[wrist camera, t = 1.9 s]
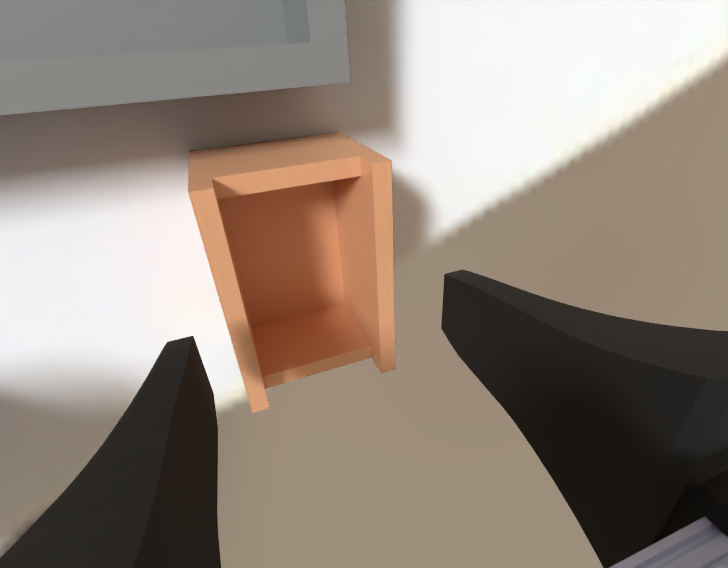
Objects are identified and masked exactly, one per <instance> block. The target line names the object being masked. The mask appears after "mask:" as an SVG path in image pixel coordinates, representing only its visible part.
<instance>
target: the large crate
mask: <svg viewBox="0 0 728 568" xmlns="http://www.w3.org/2000/svg"><path fill="white" fill-rule="evenodd" d="M342 83H350V67H349V52H348V36H347V21H346V5H345V0H0V115H11V114H21V113H32V112H43V111H53V110H64V109H75V108H85V107H96V106H107V105H117V104H128V103H139V102H149V101H160V100H171V99H181V98H192V97H203V96H213V95H224V94H235V93H245V92H256V91H267V90H278V89H288V88H299V87H310V86H320V85H331V84H342Z"/></svg>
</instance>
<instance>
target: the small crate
mask: <svg viewBox="0 0 728 568" xmlns="http://www.w3.org/2000/svg"><path fill="white" fill-rule="evenodd" d="M188 193H189V196H190V200H191V203H192V207H193V210H194V213H195V217H196V220H197V224H198V227H199V231H200V234H201V237H202V241H203V244H204V248H205V251H206V255H207V258H208V262H209V265H210V268H211V272H212V275H213V279H214V282H215V286H216V289H217V292H218V296H219V299H220V303H221V306H222V310H223V313H224V317H225V320H226V323H227V327H228V330H229V334H230V337H231V341H232V344H233V347H234V351H235V354H236V358H237V361H238V365H239V368H240V371H241V375H242V378H243V382H244V385H245V389H246V392H247V396H248V399H249V402H250V406H251V409H252V412H253V413H254V412H257V411H261V410H264V409H267V408H270V407H269V403H268V398H267V393H266V388H269V387H273V386H276V385H279V384H283V383H286V382H289V381H292V380H296V379H300V378H302V377H306V376H310V375H313V374H316V373H320V372H323V371H327V370H330V369H333V368H337V367H340V366H343V365H347V364H350V363H354V362H357V361H360V360H363V359H367V358H370V357H372V358H373V360H374V362H375V364H376V365H377V367H378V368H379V370H380V372H381V373H383V372H386V371H390V370H393V369H395V318H394V264H393V210H392V161H391V160H390V159H388V158H386V157H384V156H382V155H380V154H379V153H377V152H375V151H373V150H371V149H369V148H367V147H366V146H364V145H362V144H360V143H358V142H356V141H355V140H353V139H351V138H349V137H347V136H345V135H344V134H342V133H340V132H336V133H328V134H320V135H312V136H305V137H297V138H289V139H281V140H274V141H266V142H258V143H250V144H242V145H235V146H227V147H219V148H211V149H203V150H196V151H189V183H188Z"/></svg>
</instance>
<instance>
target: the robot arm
mask: <svg viewBox="0 0 728 568" xmlns="http://www.w3.org/2000/svg"><path fill="white" fill-rule="evenodd" d="M443 293H444V294H443V310H442V327H441V328H442V330H443V332H444V333H445V335H446V337H447V338H448V340H449V341H450V343H451V345H452V346H453V348H454V349H455V351H456V352H457V354H458V355H459V356H460V358H461V359H462V360H463V361H464V362H465V364H466V365H467V366H468V367H469V368H470V369H471V371H472V372H473V373H474V374H475V375H476V377H477V378H478V379H479V380H480V381H481V382H482V384H483V385H484V386H485V387H486V388H487V389H488V391H489V392H490V393H491V394H492V395H493V396H494V397H495V399H496V400H497V401H498V402H499V403H500V404H501V405H502V407H503V408H504V409H505V410H506V412H507V413H508V414H509V416H510V417H511V418H512V419H513V420H514V422H515V423H516V425H517V426H518V428H519V429H520V431H521V432H522V433H523V435H524V436H525V438H526V439H527V441H528V442H529V443H530V445H531V446H532V448H533V449H534V451H535V452H536V454H537V456H538V457H539V459H540V460H541V462H542V463H543V465H544V466H545V468H546V469H547V471H548V472H549V474H550V475H551V477H552V479H553V480H554V482H555V484H556V485H557V487H558V489H559V490H560V492H561V493H562V495H563V497H564V498H565V500H566V502H567V503H568V505H569V507H570V508H571V510H572V511H573V513H574V515H575V517H576V518H577V520H578V522H579V524H580V526H581V527H582V529H583V531H584V533H585V535H586V536H587V538H588V540H589V542H590V543H591V545H592V547H593V549H594V551H595V552H596V554H597V556H598V558H599V560H600V562H601V564H602V566H603V568H728V331H713V330H703V329H694V328H685V327H676V326H669V325H661V324H654V323H649V322H643V321H637V320H631V319H625V318H620V317H615V316H610V315H606V314H602V313H598V312H594V311H590V310H585V309H581V308H578V307H574V306H570V305H567V304H563V303H560V302H557V301H554V300H550V299H547V298H544V297H541V296H538V295H535V294H532V293H529V292H527V291H524V290H521V289H518V288H515V287H512V286H510V285H507V284H504V283H501V282H499V281H496V280H493V279H490V278H487V277H485V276H482V275H479V274H475V273H473V272H469V271H465V270H459V271H455V272H451V273H447V274H445V275H444V292H443ZM217 464H218V427H217V418H216V410H215V402H214V394H213V391H212V388H211V385H210V382H209V380H208V377H207V374H206V371H205V368H204V365H203V363H202V360H201V357H200V354H199V351H198V348H197V346H196V343H195V340H194V337H193V336H190V337H186V338H182V339H178V340H174V341H170V342H167V344H166V345H165V346H164V348H163V350H162V351H161V353H160V355H159V357H158V359H157V360H156V362H155V364H154V366H153V367H152V369H151V371H150V373H149V374H148V376H147V378H146V380H145V381H144V383H143V385H142V386H141V388H140V389H139V391H138V393H137V394H136V396H135V397H134V399H133V401H132V402H131V404H130V406H129V407H128V409H127V410H126V412H125V413H124V415H123V416H122V417H121V419H120V420H119V422H118V423H117V425H116V426H115V428H114V429H113V430H112V432H111V433H110V435H109V436H108V438H107V439H106V440H105V442H104V443H103V444H102V446H101V447H100V448H99V450H98V451H97V452H96V454H95V455H94V456H93V458H92V459H91V460H90V461H89V463H88V464H87V465H86V466H85V468H84V469H83V470H82V471H81V472H80V474H79V475H78V476H77V477H76V478H75V480H74V481H73V482H72V483H71V484H70V485H69V486H68V488H67V489H66V490H65V491H64V492H63V493H62V494H61V495H60V496H59V497H58V498H57V500H56V501H55V502H54V503H53V504H52V505H51V506H50V507H49V508H48V509H47V510H46V511H45V512H44V514H43V515H42V516H41V517H40V518H39V519H38V520H37V521H36V522H35V523H34V524H33V525H32V526H31V527H30V529H29V530H28V531H27V532H26V533H25V534H24V535H23V536H22V537H21V538H20V539H19V540H18V541H17V542H16V543H15V544H14V545H13V546H12V547H11V548H10V549H9V550H8V551H7V552H6V553H5V554H4V555H3V556H2V557H1V558H0V568H221V562H220V552H219V540H218V524H217V468H218V467H217V466H218V465H217Z"/></svg>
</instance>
